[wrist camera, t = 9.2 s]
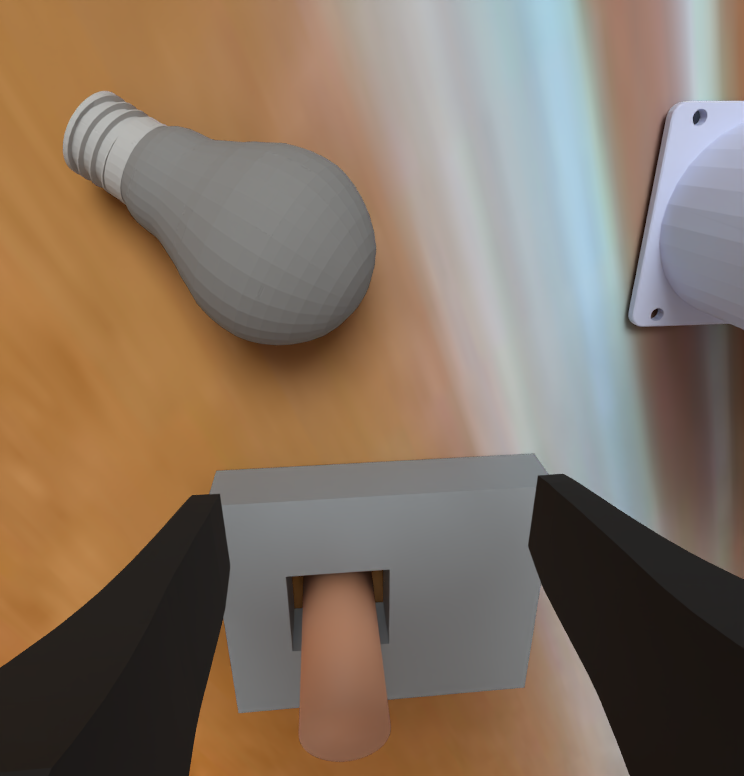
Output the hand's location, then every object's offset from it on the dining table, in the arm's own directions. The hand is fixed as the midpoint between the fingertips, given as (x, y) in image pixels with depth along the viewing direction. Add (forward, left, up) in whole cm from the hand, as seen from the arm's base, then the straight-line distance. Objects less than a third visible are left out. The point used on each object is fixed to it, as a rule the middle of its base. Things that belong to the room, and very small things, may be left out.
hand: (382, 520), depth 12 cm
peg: (+1, +11, -10) cm, 15 cm away
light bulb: (+8, -8, -9) cm, 15 cm away
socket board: (-1, +11, -10) cm, 15 cm away
